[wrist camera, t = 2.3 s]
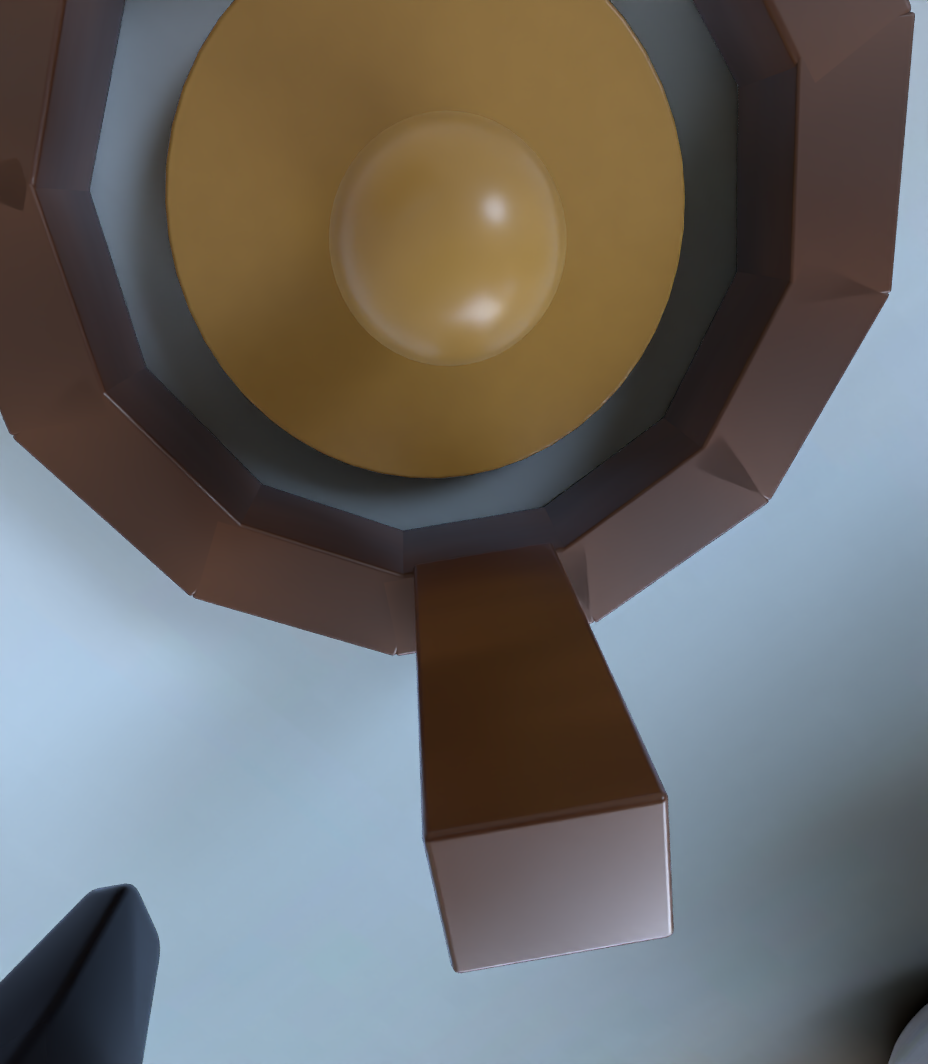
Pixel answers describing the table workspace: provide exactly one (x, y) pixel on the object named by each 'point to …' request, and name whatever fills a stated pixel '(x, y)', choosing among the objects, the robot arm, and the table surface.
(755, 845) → the table surface
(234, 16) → the ring stand
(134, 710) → the table surface
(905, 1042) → the teacup
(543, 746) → the ring
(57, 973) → the robot arm
